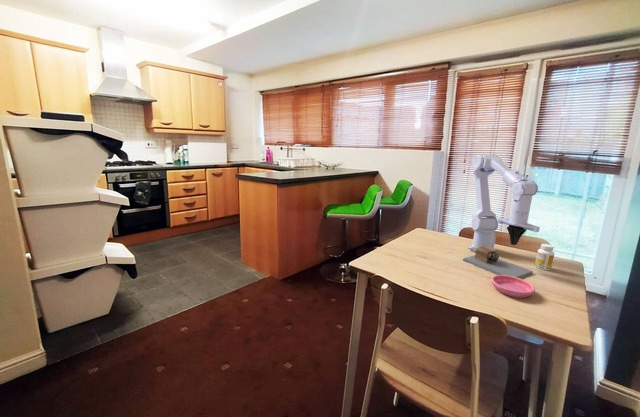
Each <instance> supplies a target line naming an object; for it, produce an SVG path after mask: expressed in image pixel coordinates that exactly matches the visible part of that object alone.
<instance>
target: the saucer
mask: <svg viewBox="0 0 640 417" xmlns="http://www.w3.org/2000/svg"><path fill="white" fill-rule="evenodd" d="M490 281H491V284H492V286H493V287H494V288H495V290H497V291H498V292H500V293H501V294H503V295H504V296H509V297H511V298H515V299H516V298H517V299H525V298H528V297H530V296H532V295H533V294H534V293H535V291H536V287H535V286H534V285H533V284H532V283H531V282H529V281H526V280H525V279H522V278H517V277H513V276H508V275H497V274H494V275H493V276H491V279H490Z"/></svg>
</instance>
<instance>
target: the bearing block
mask: <svg viewBox="0 0 640 417" xmlns="http://www.w3.org/2000/svg"><path fill="white" fill-rule="evenodd" d="M490 253H492V254H493V253H497V249H496V250H495V248H494V249H493V248H490V247H487V246H483V247H479V248H476V253H474V255H475V259H476V260H479V261H481V262H484V263H489V262H493V261H491V259H490V258H489V255H490Z"/></svg>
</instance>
